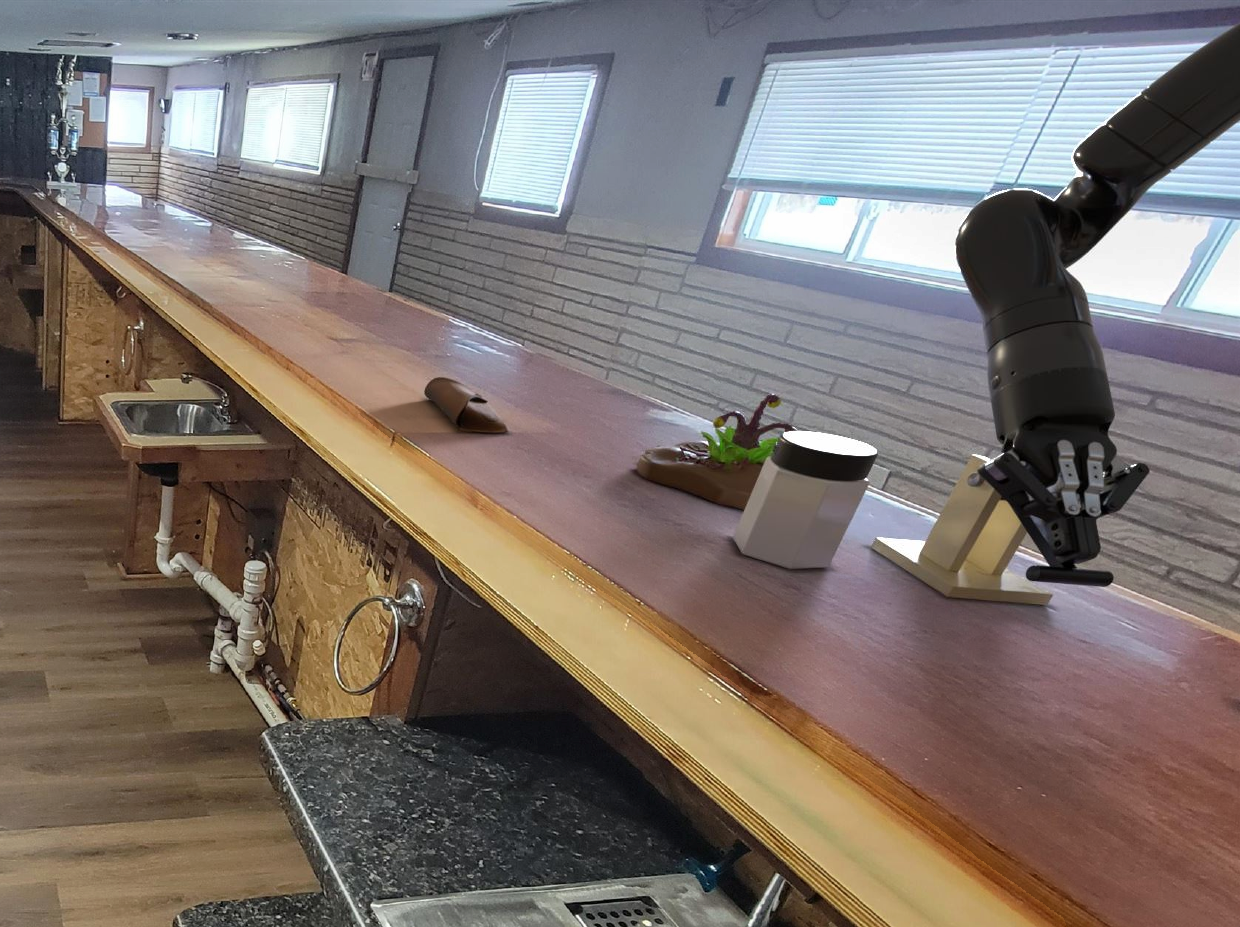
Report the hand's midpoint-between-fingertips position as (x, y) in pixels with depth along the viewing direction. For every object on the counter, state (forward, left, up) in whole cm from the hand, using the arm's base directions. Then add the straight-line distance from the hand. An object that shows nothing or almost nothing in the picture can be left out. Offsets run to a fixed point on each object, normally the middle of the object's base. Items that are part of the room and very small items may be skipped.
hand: (1078, 560), depth 79 cm
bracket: (0, -11, -7) cm, 13 cm away
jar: (+16, -13, -7) cm, 22 cm away
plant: (+10, -36, -7) cm, 38 cm away
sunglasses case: (+38, -60, -7) cm, 71 cm away
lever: (0, -6, 0) cm, 6 cm away
